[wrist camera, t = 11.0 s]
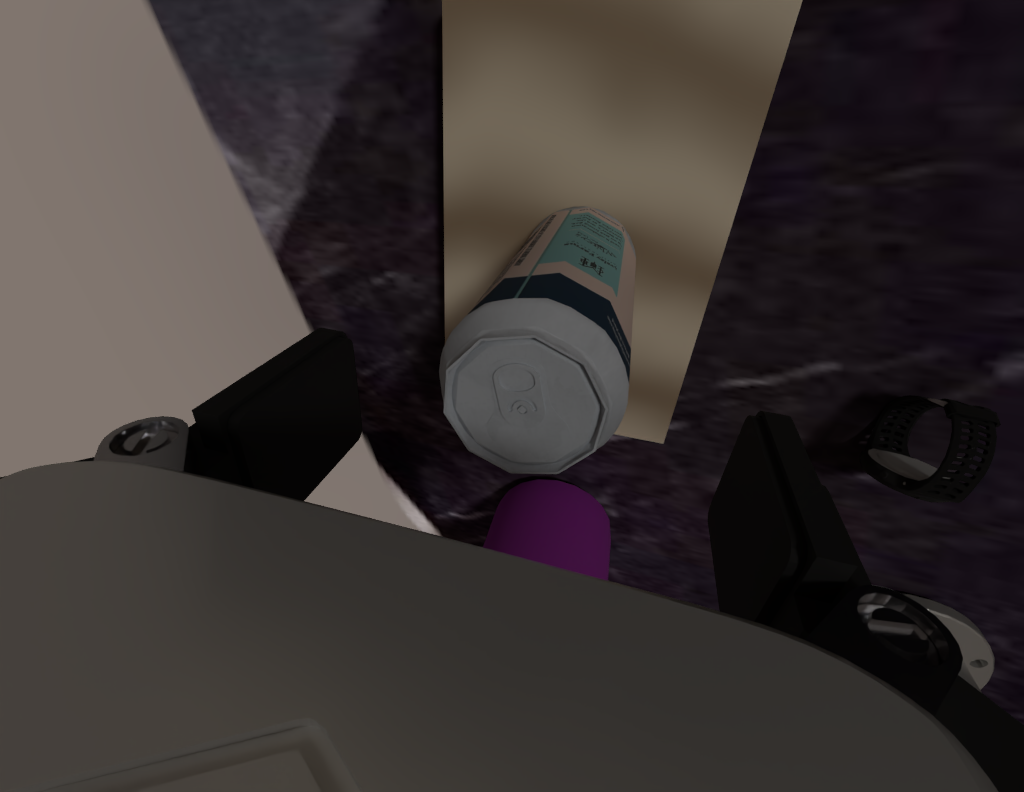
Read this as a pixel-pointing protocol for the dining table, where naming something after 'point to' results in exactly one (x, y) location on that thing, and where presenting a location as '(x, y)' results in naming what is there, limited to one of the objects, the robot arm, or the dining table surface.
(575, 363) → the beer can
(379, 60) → the dining table surface
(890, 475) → the smartwatch
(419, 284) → the dining table surface
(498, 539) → the beverage can
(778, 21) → the birch board
